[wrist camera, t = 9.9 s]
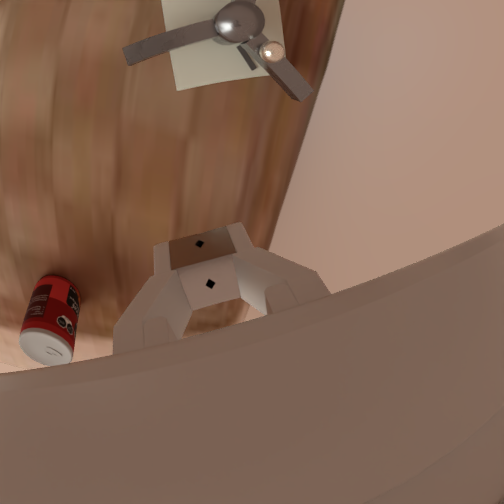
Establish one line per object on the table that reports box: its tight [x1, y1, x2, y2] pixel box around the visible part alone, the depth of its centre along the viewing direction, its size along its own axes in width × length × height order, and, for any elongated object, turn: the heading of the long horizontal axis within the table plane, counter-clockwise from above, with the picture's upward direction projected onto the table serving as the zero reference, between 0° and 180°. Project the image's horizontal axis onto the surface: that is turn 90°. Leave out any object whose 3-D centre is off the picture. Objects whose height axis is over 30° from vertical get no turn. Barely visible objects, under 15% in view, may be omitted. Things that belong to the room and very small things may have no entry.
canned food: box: [19, 275, 81, 366], centre depth 34 cm, size 8×8×11 cm
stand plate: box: [161, 0, 286, 91], centre depth 24 cm, size 12×12×2 cm
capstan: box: [122, 0, 314, 102], centre depth 22 cm, size 16×18×7 cm
